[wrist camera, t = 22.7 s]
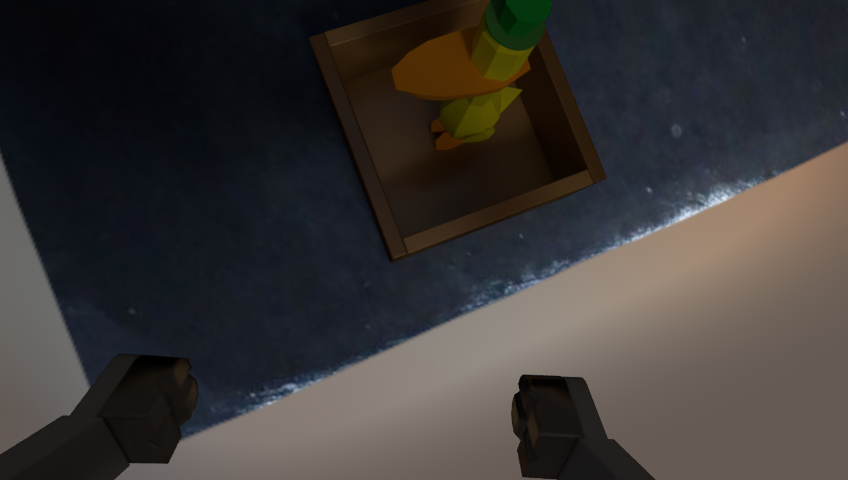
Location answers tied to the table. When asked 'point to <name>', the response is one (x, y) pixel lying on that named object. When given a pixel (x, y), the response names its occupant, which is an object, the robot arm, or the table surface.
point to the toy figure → (474, 69)
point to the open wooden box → (414, 142)
